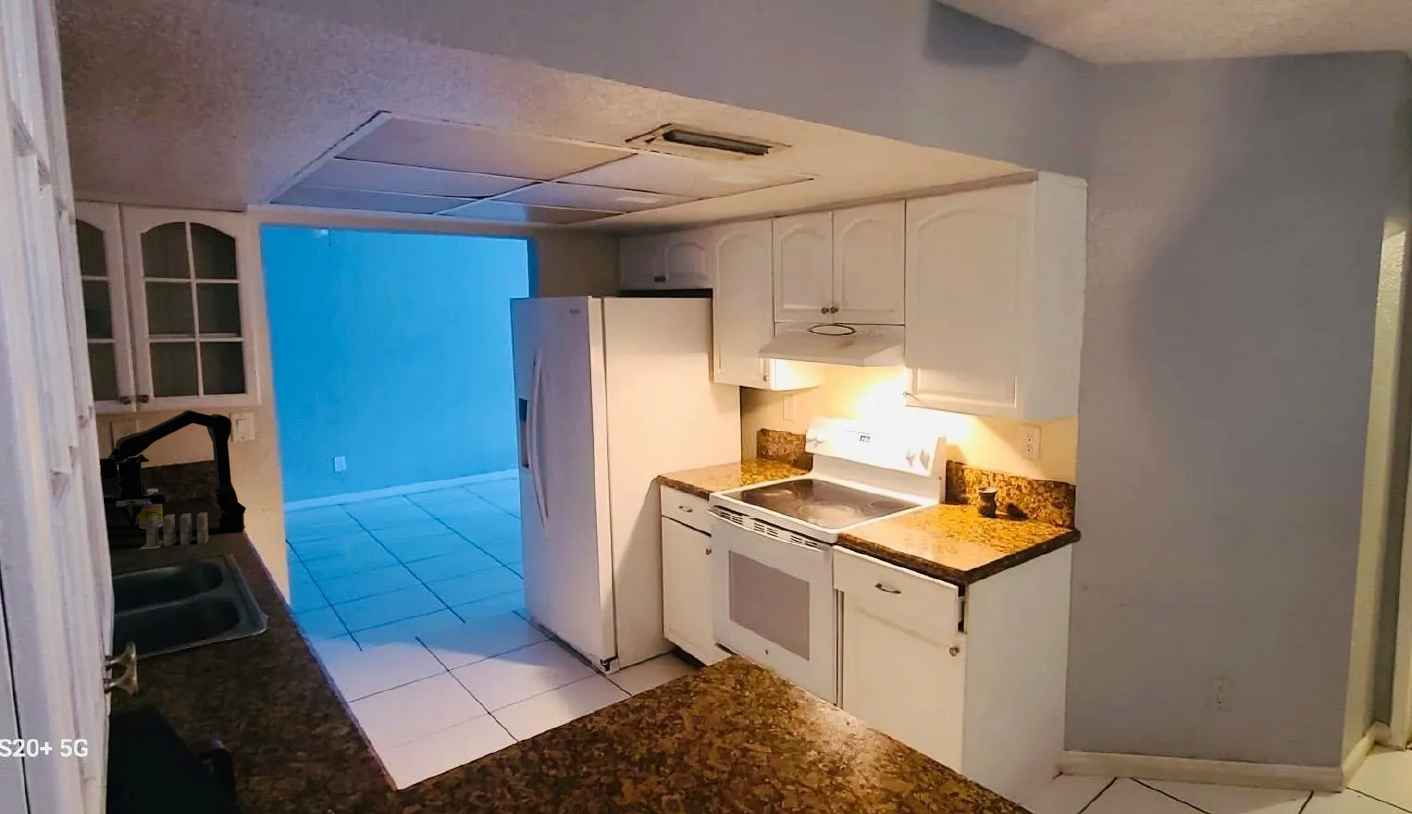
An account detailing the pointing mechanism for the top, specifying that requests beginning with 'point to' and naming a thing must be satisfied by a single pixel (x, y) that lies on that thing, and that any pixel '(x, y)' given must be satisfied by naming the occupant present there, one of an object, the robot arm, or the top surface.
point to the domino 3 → (202, 528)
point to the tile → (152, 530)
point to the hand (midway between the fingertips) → (133, 526)
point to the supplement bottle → (150, 511)
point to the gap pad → (153, 547)
